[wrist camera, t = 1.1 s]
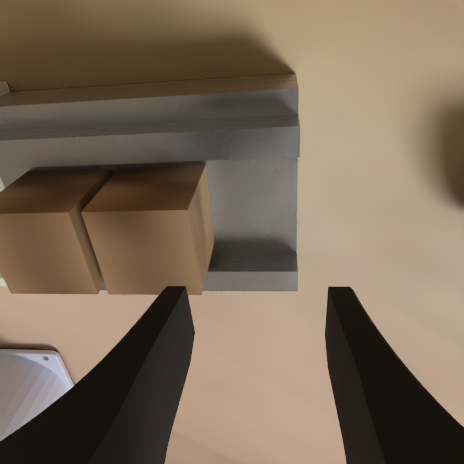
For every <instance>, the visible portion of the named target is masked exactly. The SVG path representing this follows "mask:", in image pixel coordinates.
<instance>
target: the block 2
mask: <svg viewBox="0 0 464 464" xmlns="http://www.w3.org/2000/svg"><path fill="white" fill-rule="evenodd" d="M81 213H82V216H83V219H84V222H85V225H86V228H87V231H88V234H89V237H90V240H91V243H92V246H93V249H94V252H95V255H96V258H97V261H98V264H99V267H100V270H101V272H102V275H103V278H104V281H105V284H106V287H107V290H108V293H109V294H154V295H160V293H161V292H162V291H163V290H164V289H165V288H166V287H167V286H186V289H187V294H188V295H202V291H203V287H204V283H205V279H206V275H207V271H208V267H209V263H210V259H211V254H212V250H213V246H214V242H215V236H214V228H213V220H212V212H211V204H210V196H209V189H208V181H207V173H206V165H189V166H162V167H135V168H119V169H118V170H117V171H116V172H115V173H114V174H113V176H112V177H111V178H110V179H109V180H108V181H107V183H106V184H105V185H104V186H103V187H102V188H101V190H100V191H99V192H98V193H97V194H96V195H95V197H94V198H93V199H92V200H91V201H90V202H89V204H88V205H87V206H86V207H85V208H84V209H83V211H82V212H81Z"/></svg>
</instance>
